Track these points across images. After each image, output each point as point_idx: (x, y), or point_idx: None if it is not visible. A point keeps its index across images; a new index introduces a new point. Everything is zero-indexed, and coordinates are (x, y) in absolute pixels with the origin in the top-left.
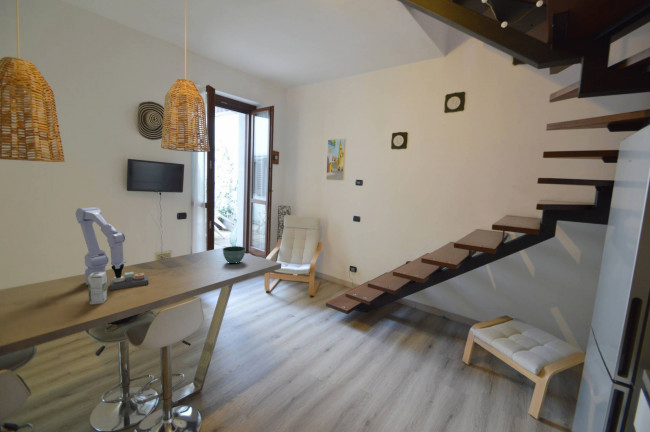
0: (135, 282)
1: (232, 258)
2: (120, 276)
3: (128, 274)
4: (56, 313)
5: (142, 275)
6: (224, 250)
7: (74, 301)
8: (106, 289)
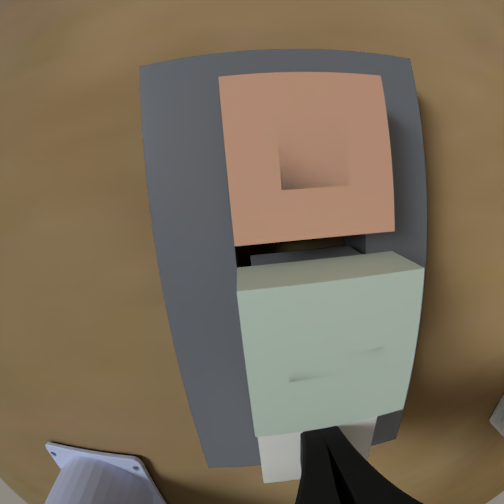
0: (421, 215)
1: None
2: (345, 439)
3: (413, 357)
4: (500, 465)
5: (382, 104)
6: None
7: (435, 483)
8: None
